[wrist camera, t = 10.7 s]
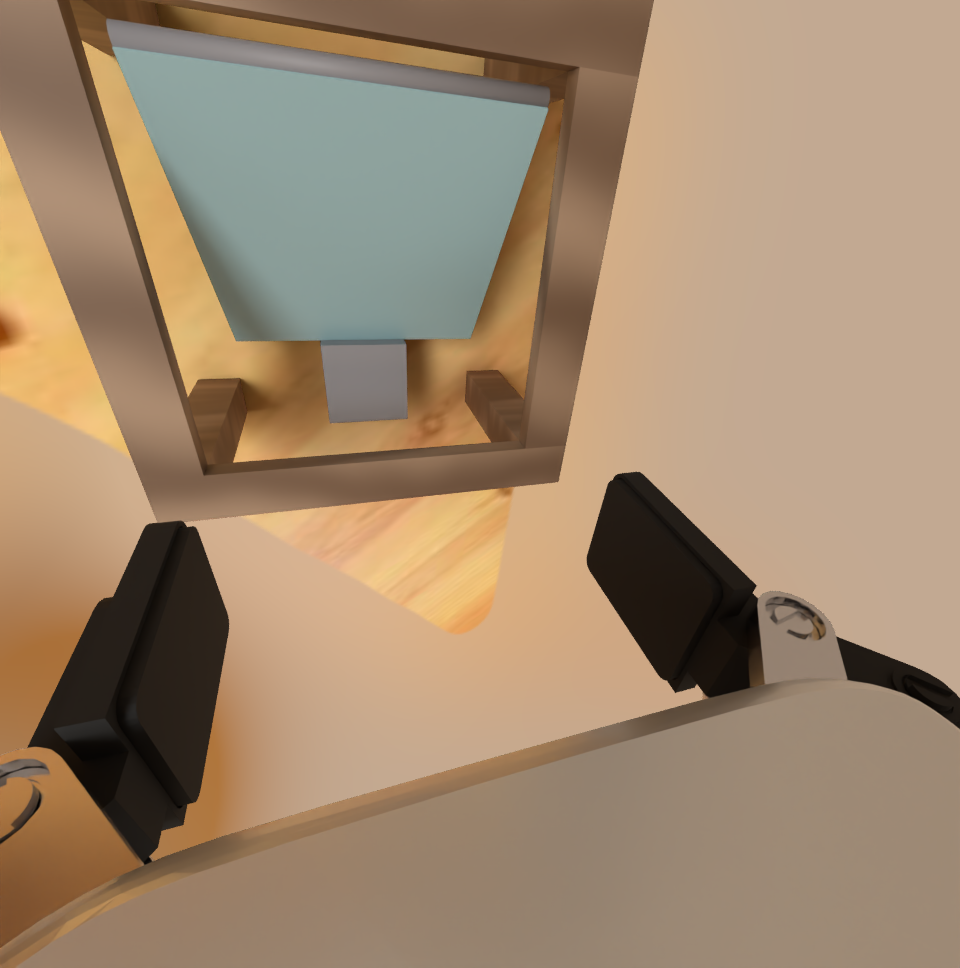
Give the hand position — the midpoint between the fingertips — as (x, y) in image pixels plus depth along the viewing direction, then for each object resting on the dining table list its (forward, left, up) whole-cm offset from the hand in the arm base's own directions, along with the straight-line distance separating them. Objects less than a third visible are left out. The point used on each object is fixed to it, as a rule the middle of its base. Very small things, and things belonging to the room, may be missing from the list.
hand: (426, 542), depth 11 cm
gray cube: (+1, 0, -23) cm, 23 cm away
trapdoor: (-5, 0, -17) cm, 18 cm away
